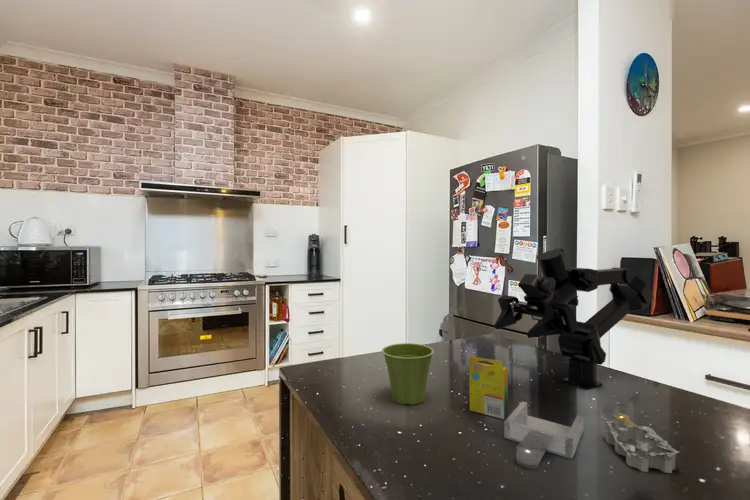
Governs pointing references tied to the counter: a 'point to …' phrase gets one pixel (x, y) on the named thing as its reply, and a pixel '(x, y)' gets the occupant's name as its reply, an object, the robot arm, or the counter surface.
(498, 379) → the crayon box
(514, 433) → the grey u-shaped piece
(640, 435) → the egg carton
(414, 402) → the plant pot
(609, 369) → the counter surface
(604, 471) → the counter surface
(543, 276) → the robot arm
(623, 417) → the brass key
